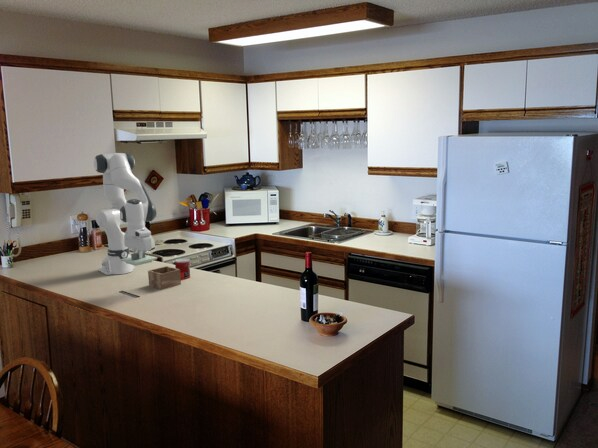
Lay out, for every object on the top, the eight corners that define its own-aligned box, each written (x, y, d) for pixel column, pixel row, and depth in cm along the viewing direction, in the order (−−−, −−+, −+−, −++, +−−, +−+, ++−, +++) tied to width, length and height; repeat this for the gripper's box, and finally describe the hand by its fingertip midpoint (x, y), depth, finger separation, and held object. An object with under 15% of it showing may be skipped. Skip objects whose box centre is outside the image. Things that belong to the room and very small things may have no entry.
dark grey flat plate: (119, 291, 287) (119, 291, 287) (145, 284, 299) (145, 284, 299) (136, 297, 276) (136, 297, 276) (162, 290, 288) (162, 289, 288)
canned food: (187, 281, 304) (186, 261, 302) (173, 280, 306) (172, 261, 304) (192, 277, 312) (191, 258, 310) (179, 276, 313) (178, 258, 311)
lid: (121, 263, 284) (120, 253, 283) (142, 258, 294) (142, 248, 293) (134, 267, 276) (134, 256, 275) (156, 261, 285) (156, 252, 284)
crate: (149, 286, 295) (148, 270, 293) (167, 281, 304) (166, 266, 302) (162, 290, 287) (161, 274, 285) (181, 285, 296) (180, 269, 294)
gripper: (120, 230, 286) (122, 255, 289) (142, 234, 273) (144, 261, 275) (130, 228, 291) (132, 253, 293) (152, 232, 278) (154, 258, 280)
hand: (138, 257), depth 284 cm, fingers closed on lid
